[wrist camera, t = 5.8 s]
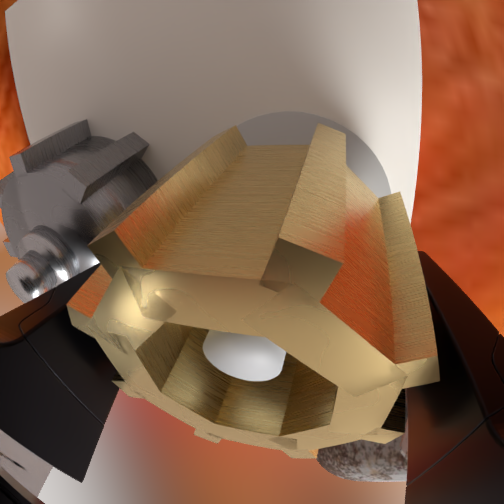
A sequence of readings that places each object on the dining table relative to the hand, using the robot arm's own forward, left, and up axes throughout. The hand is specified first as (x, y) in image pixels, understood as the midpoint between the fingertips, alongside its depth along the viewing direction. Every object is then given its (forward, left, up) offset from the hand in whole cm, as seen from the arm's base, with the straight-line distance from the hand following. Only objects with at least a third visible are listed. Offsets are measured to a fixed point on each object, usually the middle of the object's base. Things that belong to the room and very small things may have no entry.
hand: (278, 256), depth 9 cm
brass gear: (0, 0, -1) cm, 1 cm away
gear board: (+4, -4, -4) cm, 7 cm away
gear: (+8, 0, -3) cm, 8 cm away
